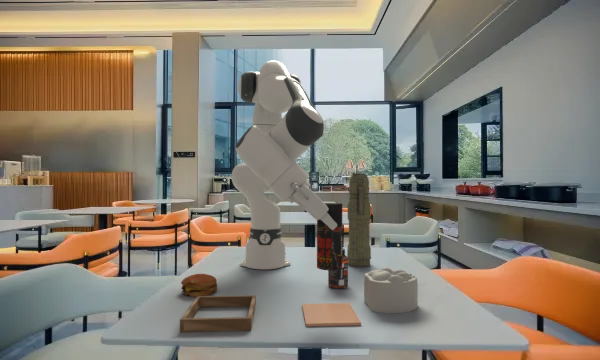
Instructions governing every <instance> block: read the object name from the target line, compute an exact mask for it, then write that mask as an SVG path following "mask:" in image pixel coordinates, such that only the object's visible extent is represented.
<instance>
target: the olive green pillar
mask: <svg viewBox="0 0 600 360" xmlns="http://www.w3.org/2000/svg"><path fill="white" fill-rule="evenodd" d="M348 193H349V198H348V199H349V200H348V202H347V220H348V245H347V252H346V253H347V254H346V256H347V257H348V266H351V267H354V268H355V267H356V268H367V267H370V266H371V259H372V252H371V251H372V249H371V245H370V221H371V215H372V213H371V211H372V210H371V209H372V207H371V202H370V198H369V194H370V180H369V178H368V175H367V174H366V173H353V174H351V175H350V178H349V182H348Z"/></svg>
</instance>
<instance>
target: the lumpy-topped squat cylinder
mask: <svg viewBox="0 0 600 360" xmlns="http://www.w3.org/2000/svg"><path fill="white" fill-rule="evenodd" d="M363 278H364V279H363V280H364V281H363V296H364V297H363V298H364V299H363V302H364V304H366V305H367V306H368V309H369V310H370V311H373V312H375V313H376V312H377V313H383V314H384V313H385V314H386V313H387V314H391V313H392V314H395V313H396V314H397V313H399V314H400V313H408V312H411V311H415V310H416V309H417V308H418V306H419V305H418V302H419V300H418V296H419V295H418V289H419V288H418V286H419V285H418V277H417V276H416V275H413V274H412V273H408V272H407V271H405V270H403V269H395V270H392V269H391V268H389V267H386V266H385V267H382V268H380V269H372V270H371V271H368V272H365V273H364V276H363Z"/></svg>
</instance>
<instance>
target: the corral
mask: <svg viewBox="0 0 600 360" xmlns="http://www.w3.org/2000/svg"><path fill="white" fill-rule="evenodd" d="M256 305H257V295H251V294H250V295H245V294H244V295H207V296H197V297H195V299H194V300H193V302H192V303H191V304H190V306H189V307H188V308H187V310H185V312H184V313H183V315H182V316H181V318H180V319H179V332H180V333H193V332H194V333H195V332H196V333H197V332H199V333H200V332H235V331H237V332H239V331H240V332H241V331H242V332H243V331H244V332H245V331H252V327H253V323H254V316H255V311H256V307H257V306H256ZM235 307H236V308H241V307H242V308H243V307H244V308H245V307H249V311H248V315H247V316H236V317H235V316H234V317H233V316H231V317H228V316H227V317H195V315H197V313H198V311H199V309H200V308H235Z"/></svg>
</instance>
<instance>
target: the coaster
mask: <svg viewBox="0 0 600 360" xmlns="http://www.w3.org/2000/svg"><path fill="white" fill-rule="evenodd" d="M302 312H303V317H304V322H305V327H309V328H310V327H340V326H341V327H344V326H345V327H346V326H347V327H349V326H362V322H361V320H360V318H359V316H358V315H357V314H356V312H355V309H354V308H353V307H352V305H351V303H350V302H337V303H335V302H334V303H331V302H329V303H322V302H321V303H302Z"/></svg>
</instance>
